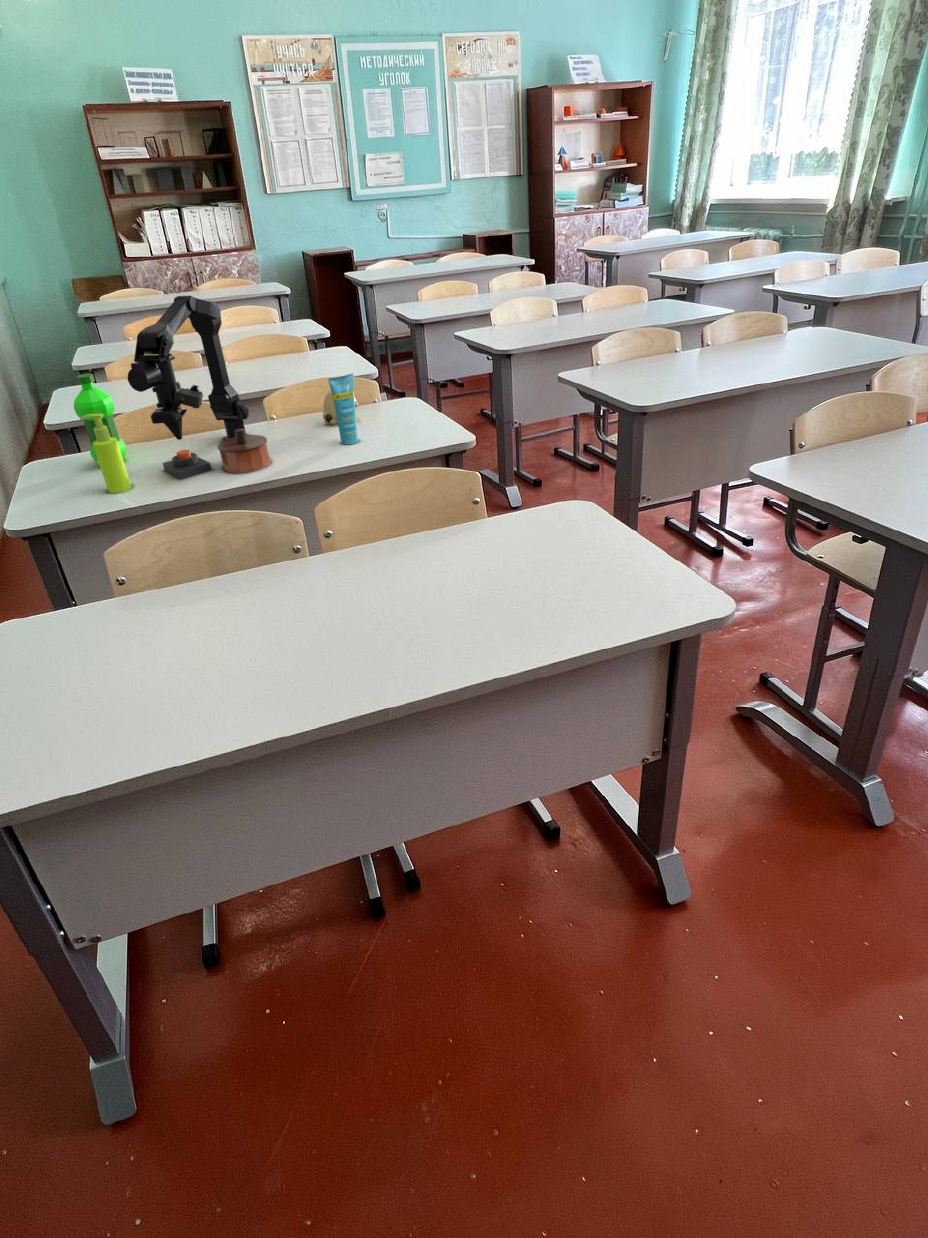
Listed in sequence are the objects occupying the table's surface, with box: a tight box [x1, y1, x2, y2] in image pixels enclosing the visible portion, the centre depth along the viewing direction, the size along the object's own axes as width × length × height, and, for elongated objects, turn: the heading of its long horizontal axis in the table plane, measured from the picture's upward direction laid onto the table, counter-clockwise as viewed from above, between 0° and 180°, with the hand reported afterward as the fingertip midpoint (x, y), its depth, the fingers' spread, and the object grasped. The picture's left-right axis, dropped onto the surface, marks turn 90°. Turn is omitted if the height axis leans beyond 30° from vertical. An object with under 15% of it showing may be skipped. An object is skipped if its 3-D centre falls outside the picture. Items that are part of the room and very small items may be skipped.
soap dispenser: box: [79, 414, 132, 494], centre depth 196 cm, size 6×7×20 cm
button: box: [176, 449, 192, 459], centre depth 208 cm, size 4×4×2 cm
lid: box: [216, 428, 268, 453], centre depth 207 cm, size 13×13×4 cm
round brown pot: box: [219, 443, 271, 474], centre depth 209 cm, size 12×12×6 cm
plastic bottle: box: [73, 373, 127, 464], centre depth 214 cm, size 10×10×25 cm
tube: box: [327, 373, 359, 445], centre depth 218 cm, size 7×5×19 cm, turn 123°
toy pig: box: [322, 389, 359, 426], centre depth 238 cm, size 10×12×11 cm
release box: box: [162, 452, 213, 480], centre depth 209 cm, size 11×9×4 cm
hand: (179, 439), depth 206 cm, fingers closed
